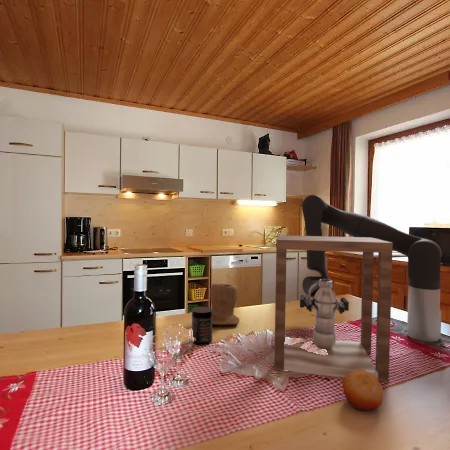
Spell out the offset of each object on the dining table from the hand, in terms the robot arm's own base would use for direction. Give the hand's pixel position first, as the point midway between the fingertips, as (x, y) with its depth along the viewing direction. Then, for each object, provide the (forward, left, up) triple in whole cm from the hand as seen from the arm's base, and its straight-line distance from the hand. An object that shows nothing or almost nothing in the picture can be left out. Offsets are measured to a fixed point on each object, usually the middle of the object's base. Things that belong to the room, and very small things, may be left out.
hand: (325, 309), depth 93 cm
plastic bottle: (-1, -2, -12) cm, 12 cm away
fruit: (+7, +22, -14) cm, 28 cm away
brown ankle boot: (+20, -38, -14) cm, 45 cm away
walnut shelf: (+1, +1, -14) cm, 14 cm away
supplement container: (+31, -22, -14) cm, 40 cm away
